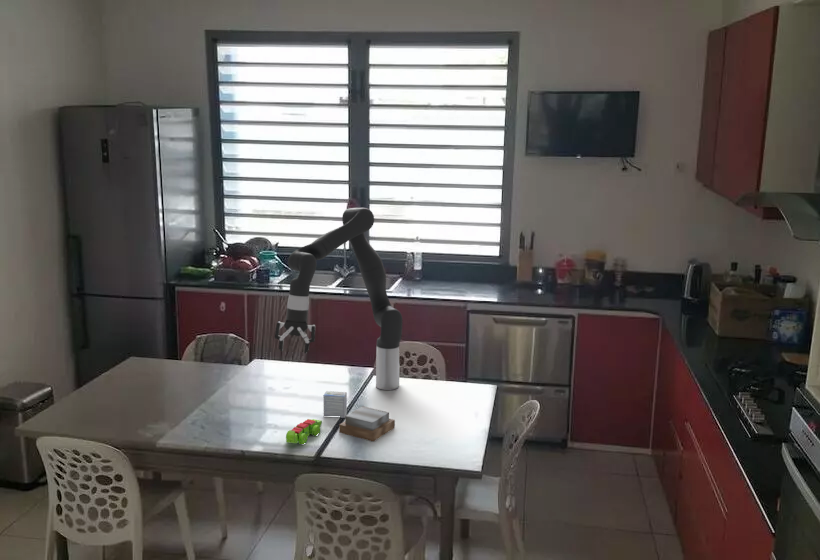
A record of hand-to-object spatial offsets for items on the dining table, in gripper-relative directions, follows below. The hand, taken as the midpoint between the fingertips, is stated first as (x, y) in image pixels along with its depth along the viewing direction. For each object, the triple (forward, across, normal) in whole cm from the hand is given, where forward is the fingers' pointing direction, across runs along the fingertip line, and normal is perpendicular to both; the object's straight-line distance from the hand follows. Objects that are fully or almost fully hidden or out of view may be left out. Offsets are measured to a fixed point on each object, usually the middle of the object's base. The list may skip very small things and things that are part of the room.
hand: (293, 351), depth 277 cm
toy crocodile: (+26, -8, +19) cm, 33 cm away
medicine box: (+22, -17, 0) cm, 28 cm away
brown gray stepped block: (+22, -29, +13) cm, 39 cm away
